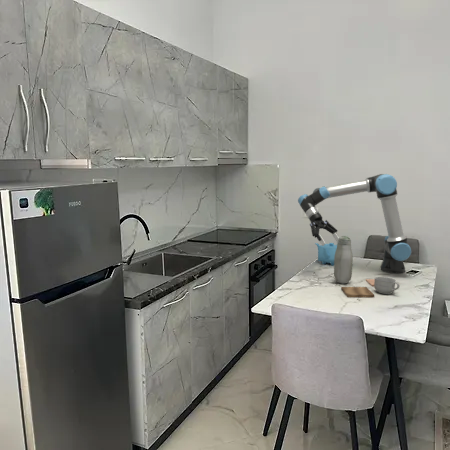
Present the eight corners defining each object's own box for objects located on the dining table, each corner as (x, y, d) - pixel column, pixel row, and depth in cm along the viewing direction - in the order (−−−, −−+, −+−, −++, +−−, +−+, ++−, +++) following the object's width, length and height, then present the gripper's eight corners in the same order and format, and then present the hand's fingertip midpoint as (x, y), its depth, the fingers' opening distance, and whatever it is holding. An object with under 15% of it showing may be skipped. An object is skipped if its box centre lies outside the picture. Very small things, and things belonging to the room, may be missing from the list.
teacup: (369, 291, 228) (370, 277, 227) (384, 288, 233) (385, 274, 232) (388, 298, 216) (389, 283, 215) (404, 295, 220) (404, 281, 219)
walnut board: (366, 289, 231) (366, 287, 231) (374, 297, 217) (374, 294, 217) (341, 289, 231) (341, 286, 231) (347, 297, 217) (347, 294, 217)
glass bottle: (349, 286, 237) (351, 238, 233) (331, 283, 242) (333, 236, 238) (353, 282, 246) (355, 235, 242) (336, 279, 251) (337, 234, 247)
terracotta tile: (385, 280, 248) (385, 279, 248) (393, 286, 236) (393, 285, 236) (365, 280, 248) (365, 279, 248) (371, 286, 237) (372, 284, 236)
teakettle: (347, 266, 284) (348, 245, 282) (320, 266, 283) (321, 245, 281) (339, 260, 302) (340, 240, 300) (313, 260, 302) (314, 240, 300)
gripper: (324, 218, 267) (342, 244, 257) (296, 221, 253) (314, 249, 243) (331, 210, 262) (349, 237, 252) (303, 213, 248) (321, 241, 238)
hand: (332, 243), depth 247 cm, fingers open, 13 cm apart
